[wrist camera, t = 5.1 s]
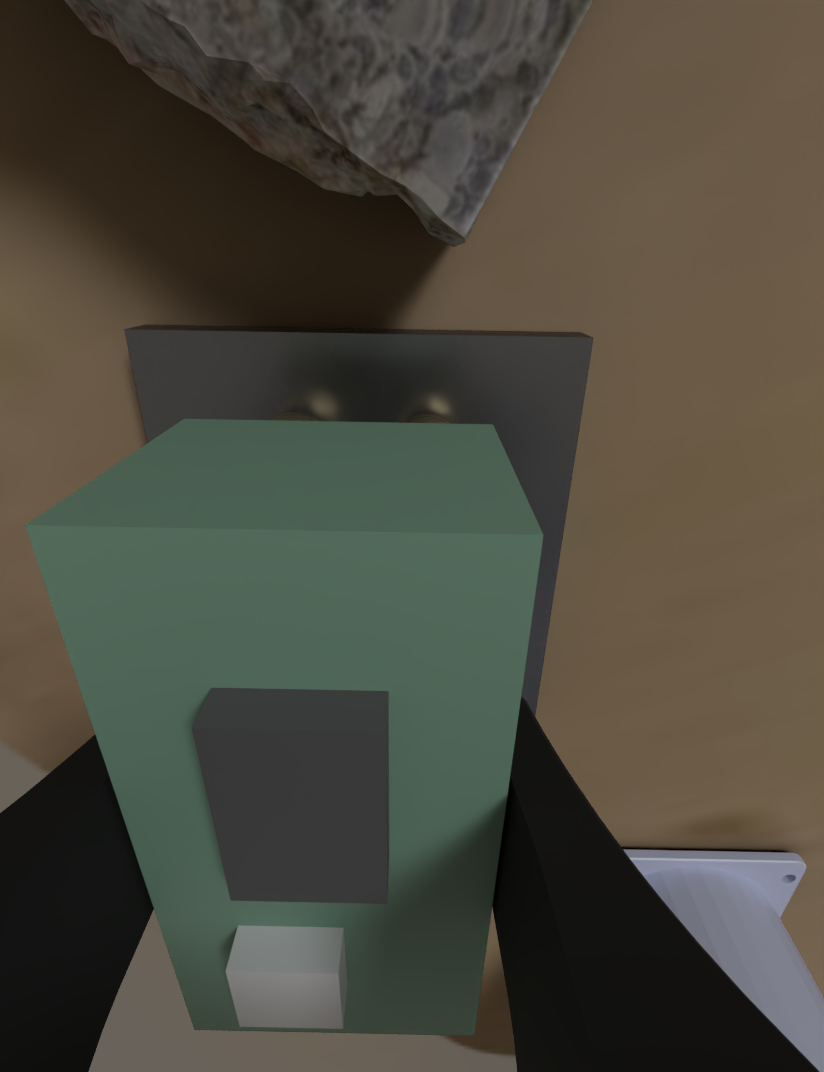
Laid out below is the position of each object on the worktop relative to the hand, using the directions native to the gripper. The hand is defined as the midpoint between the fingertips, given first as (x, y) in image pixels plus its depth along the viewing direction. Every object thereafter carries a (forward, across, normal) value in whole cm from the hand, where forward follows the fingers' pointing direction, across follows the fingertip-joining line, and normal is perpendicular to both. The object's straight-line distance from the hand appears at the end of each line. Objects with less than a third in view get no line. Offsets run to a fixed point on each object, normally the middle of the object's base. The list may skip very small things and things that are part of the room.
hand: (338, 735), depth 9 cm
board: (+2, 0, 0) cm, 2 cm away
